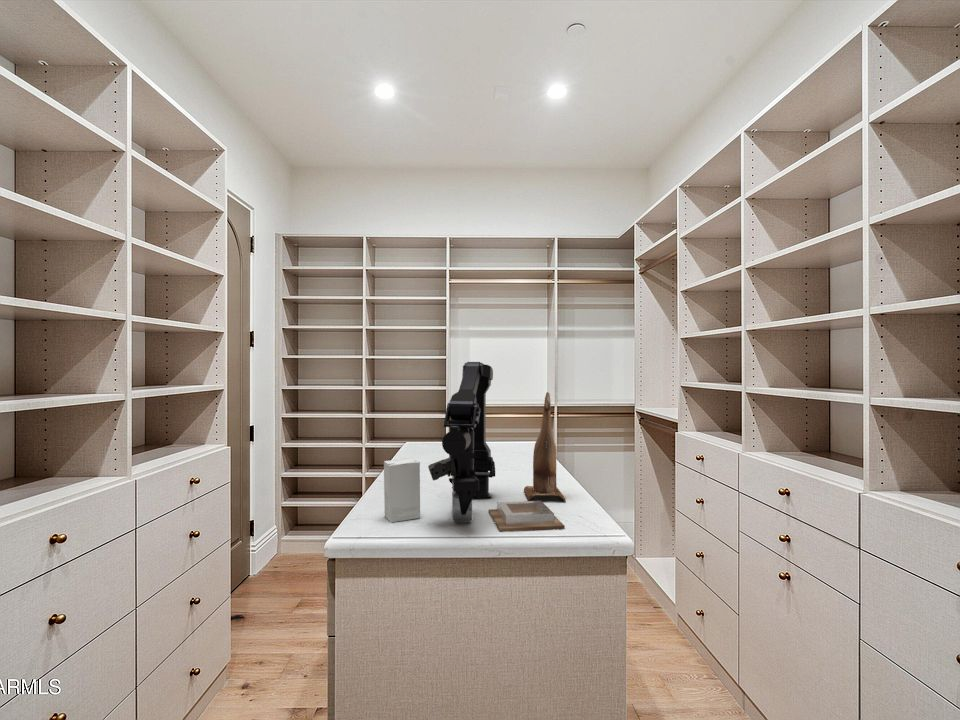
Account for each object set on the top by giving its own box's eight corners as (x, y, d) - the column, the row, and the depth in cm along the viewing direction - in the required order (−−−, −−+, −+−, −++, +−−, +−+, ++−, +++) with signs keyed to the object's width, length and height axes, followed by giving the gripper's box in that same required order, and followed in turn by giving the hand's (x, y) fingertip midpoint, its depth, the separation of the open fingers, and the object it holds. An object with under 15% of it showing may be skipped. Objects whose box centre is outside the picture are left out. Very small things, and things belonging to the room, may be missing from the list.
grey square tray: (497, 511, 132) (497, 502, 132) (541, 509, 133) (541, 500, 134) (506, 525, 120) (506, 515, 120) (554, 523, 122) (554, 513, 122)
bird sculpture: (528, 504, 143) (530, 393, 142) (522, 492, 155) (524, 390, 154) (566, 504, 144) (568, 393, 143) (557, 492, 155) (559, 390, 155)
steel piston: (451, 516, 126) (451, 489, 127) (470, 516, 127) (471, 488, 127) (452, 523, 121) (453, 494, 122) (473, 522, 122) (473, 493, 122)
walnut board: (488, 512, 133) (488, 509, 133) (546, 510, 136) (546, 507, 136) (499, 531, 118) (499, 528, 118) (564, 529, 120) (564, 525, 120)
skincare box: (413, 513, 133) (414, 457, 133) (421, 519, 127) (421, 461, 127) (382, 517, 129) (383, 459, 129) (389, 523, 124) (389, 463, 124)
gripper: (428, 443, 133) (428, 502, 132) (432, 456, 114) (431, 524, 114) (470, 442, 134) (469, 500, 134) (480, 455, 116) (479, 522, 116)
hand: (462, 511), depth 124 cm, fingers closed on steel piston, 5 cm apart
